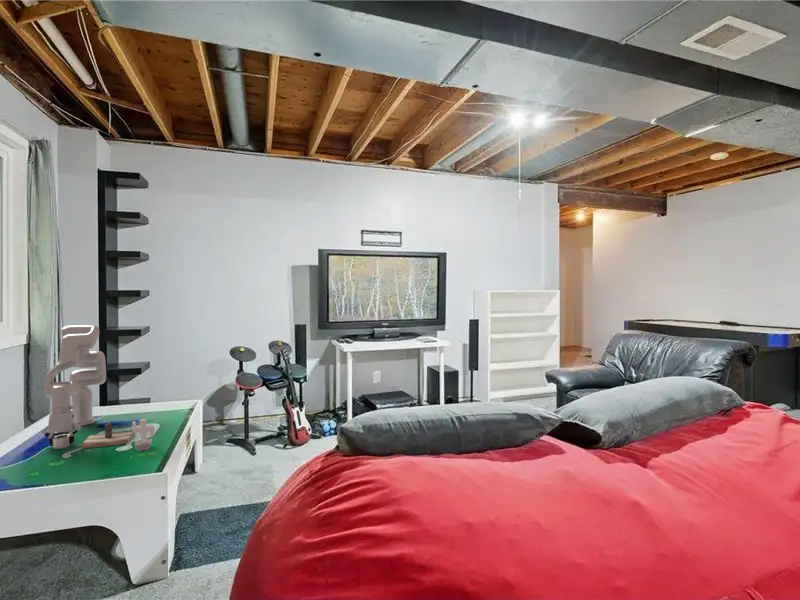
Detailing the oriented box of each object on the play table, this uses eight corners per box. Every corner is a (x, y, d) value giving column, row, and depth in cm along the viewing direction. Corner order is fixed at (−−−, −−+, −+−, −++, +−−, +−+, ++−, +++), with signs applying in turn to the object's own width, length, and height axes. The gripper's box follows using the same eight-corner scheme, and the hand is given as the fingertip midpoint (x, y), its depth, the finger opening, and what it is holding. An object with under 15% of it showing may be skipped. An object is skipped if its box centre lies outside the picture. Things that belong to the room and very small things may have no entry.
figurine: (154, 450, 212) (153, 420, 212) (131, 453, 208) (131, 422, 208) (154, 445, 219) (154, 416, 218) (133, 448, 215) (132, 418, 214)
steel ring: (56, 444, 219) (55, 435, 219) (72, 442, 221) (72, 433, 221) (50, 449, 212) (50, 439, 212) (68, 447, 215) (67, 437, 215)
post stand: (89, 439, 227) (89, 422, 227) (133, 434, 234) (133, 418, 234) (81, 448, 214) (81, 430, 214) (127, 443, 221) (127, 426, 221)
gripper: (84, 406, 223) (84, 439, 224) (42, 409, 217) (43, 444, 217) (79, 409, 216) (80, 444, 217) (36, 413, 210) (37, 449, 210)
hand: (61, 444), depth 217 cm, fingers closed on steel ring, 7 cm apart
